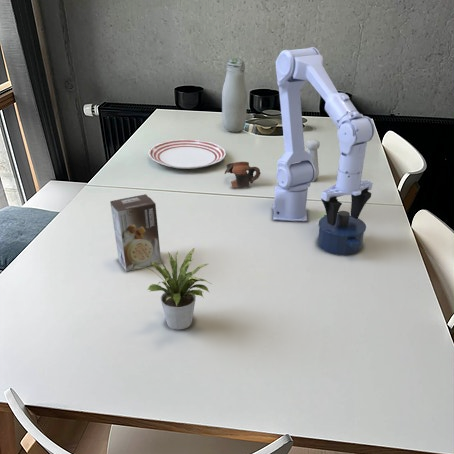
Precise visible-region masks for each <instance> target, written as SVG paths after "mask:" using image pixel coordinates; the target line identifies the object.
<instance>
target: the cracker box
mask: <svg viewBox="0 0 454 454" xmlns="http://www.w3.org/2000/svg"><path fill="white" fill-rule="evenodd" d="M110 210H111V217H112V222H113V229H114V230H113V231H114V237H115V245H116V250H117V251H116V252H117V258H118V259H117V260H118V262H119V263H120V265H121V266H122V267H123V268H124V270H125V271H126V272H130V271H135V270H138V269H139V268H137V267H145V268H147V267H149V266H153V265H152V264H151V263H152V262H155V263H156V264H157V265H159V264H161V263H160V262H162V256H161V248H160V237H159V227H158V226H159V225H158V214H157V206H156V202H155V201H154V200H153V199H152V198H151V197H149V196H148V194H146V193H145V194H141V195H135V196H129V197H124V198H119V199H114V200H110ZM153 259H154V260H153ZM156 260H158V261H160V262H158V261H156ZM151 261H152V262H151ZM150 262H151V263H150Z"/></svg>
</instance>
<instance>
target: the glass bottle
mask: <svg viewBox="0 0 454 454" xmlns="http://www.w3.org/2000/svg"><path fill="white" fill-rule="evenodd" d="M225 70H226V75H225V79H224V83H223V85H222V91H221V121H222V126H223V128H224V129H225V130H226V131H228V132H231V133H237V132H241V131H243V130H244V128H245V126H246V122H247V107H248V87H247V80H246V77H245V76H246V75H245V74H246V73H245V70H246V63H245V61H244V60H243V59H241V58H239V57H233V58H229V59H228V60H227V61H226V66H225Z"/></svg>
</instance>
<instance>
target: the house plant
mask: <svg viewBox="0 0 454 454" xmlns="http://www.w3.org/2000/svg"><path fill="white" fill-rule="evenodd" d="M195 249H196V247H194V248H192V249H191V250H189V251H188V253H187V254H186V256H185V257H184V260H183V262H182V264H181V265H180V268H179V272H178V251H179V250H177V251H176V253H175V255H174V257H173V256H172V254H171V253H170V252H169V251H167V254H168V257H169V264H170V268H171V272H170V271H169V270H168V268H167V267H166V265H165V264H164V263H163V262H162V261H161V262H160V261H158V260H156V261H158V262H160V263H159V264H161V265H162V267H163V268H162V267H161V266H160V265H159V264H156V263H155V262H152V261H151V262H152V263H151V262H150V263H151V264H152V265H151V266H153V267H154V268H155V270H156V271H158V273H160V275H161V276H162V277H163V278H162V277H161V276H160V275H159V274H158V273H156V275H157V276H158V277H159V278H160V279H161V280H162V281H159V282H157V283H152V284H150V285H149V286H148V288H147V289H146V290H147V291H148V293H150V292H157V291H159V292H160V291H162V292H163V293H162V294H161V296H160V302H161V303H160V304H161V306H162V310H163V313H164V317H165V321H166V324H167V326H168V327H169V328H170V329H172V330H175V331H176V330H180V331H181V330H186V329H187V328H189V327H190V326H191V325H192V323H193V317H194V313H195V312H194V310H195V305H196V297H197V296H200V297H201V298H203V299H204V298H205V297H204V295H203V293H204V291H206V292H208V293H209V294H210V291H209V288H208V287H207V286H206V285H205V284H201V283H200V284H198V283H197V282H206V283H208V284H211V285H212V283H211V282H209V281H207V279H205V278H199V277H196V276H194V275H195V274H196V273H197V272H199V271H200V269H202V268H203V267H206V266H208V265H209V263H203V264H200V265H198V266H197V267H196V268H194V269H193V270H192V271H189V272H188V269H189V267H190V265H191V263H192V262H193V260H194V258H192V257H193V255H194V252H195ZM153 260H154V259H153ZM137 268H138V269H145V270H149V271H151V272H153V273H155V270H153V269H151V268H149V267H137ZM170 273H171V274H170ZM160 283H161V284H163V285H164V287H162V285H159V284H160ZM195 283H197V284H195ZM194 288H195V289H194Z"/></svg>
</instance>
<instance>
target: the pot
mask: <svg viewBox="0 0 454 454" xmlns="http://www.w3.org/2000/svg"><path fill="white" fill-rule="evenodd" d="M324 216H327V214H324V215H323V217H324ZM364 235H365V232H364V233H363V234H361V235H358V236H354V237H339V236H334V235H331V234H328V233H326V232H324V231H323V230H321V229H320V227H319V226H318V235H317V245H318V247H319V249H321V250H322V251H324V252H326V253H328V254H331V255H337V256H350V255H354V254H357V253H359V252H360V251H361V249H362V247H363V242H364V241H363V240H364Z"/></svg>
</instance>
